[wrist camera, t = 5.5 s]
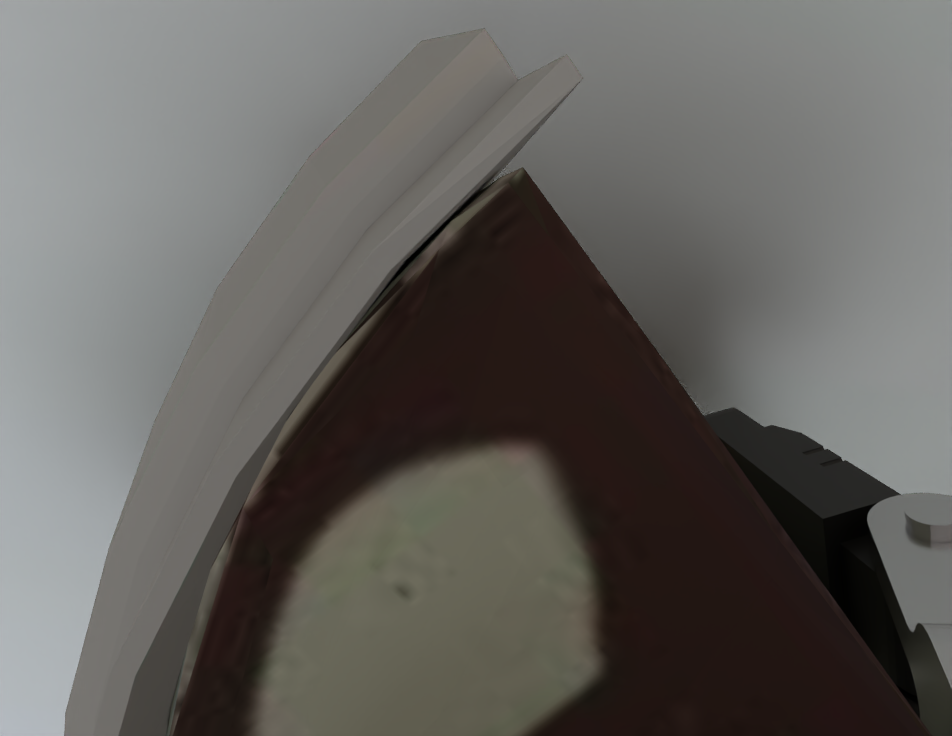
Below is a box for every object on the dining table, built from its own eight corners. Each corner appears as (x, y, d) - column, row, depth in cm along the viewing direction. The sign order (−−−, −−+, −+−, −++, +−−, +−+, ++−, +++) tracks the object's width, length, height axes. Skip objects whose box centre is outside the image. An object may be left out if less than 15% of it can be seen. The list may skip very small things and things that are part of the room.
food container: (144, 353, 12) (-943, 1098, 2) (401, 137, 11) (457, -123, 2) (534, 729, 15) (768, 1622, 6) (739, 578, 15) (1363, 1283, 5)
